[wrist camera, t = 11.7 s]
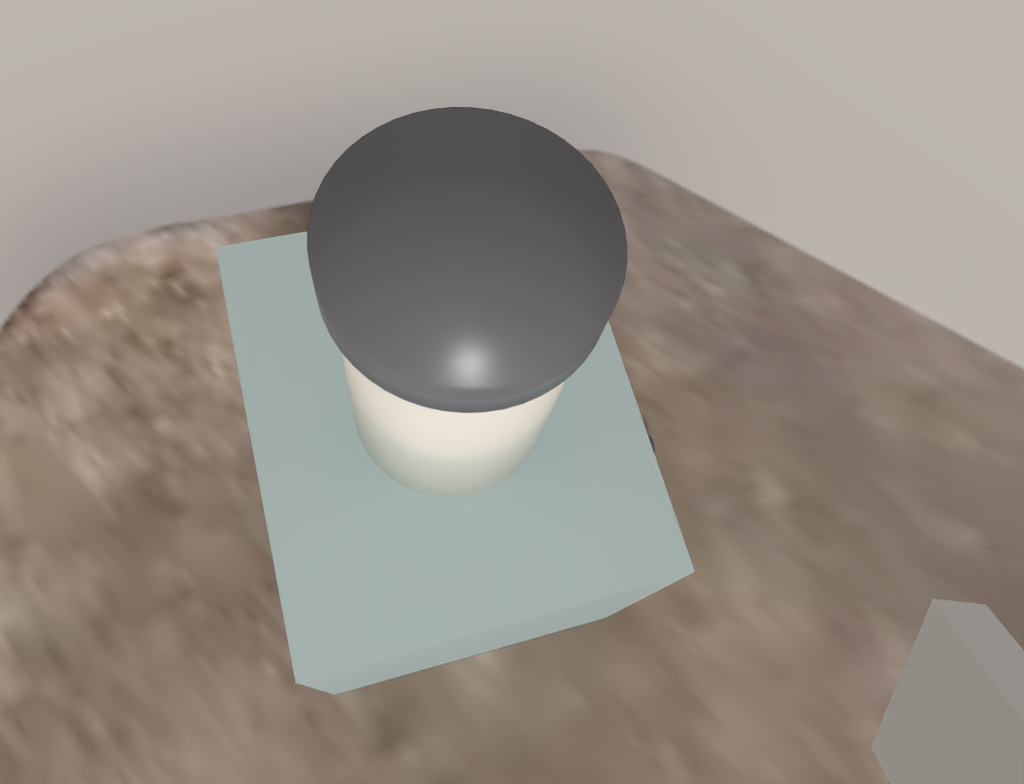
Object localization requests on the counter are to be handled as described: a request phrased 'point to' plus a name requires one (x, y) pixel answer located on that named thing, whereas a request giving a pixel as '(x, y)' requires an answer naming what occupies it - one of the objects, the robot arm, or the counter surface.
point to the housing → (433, 503)
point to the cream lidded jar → (462, 288)
